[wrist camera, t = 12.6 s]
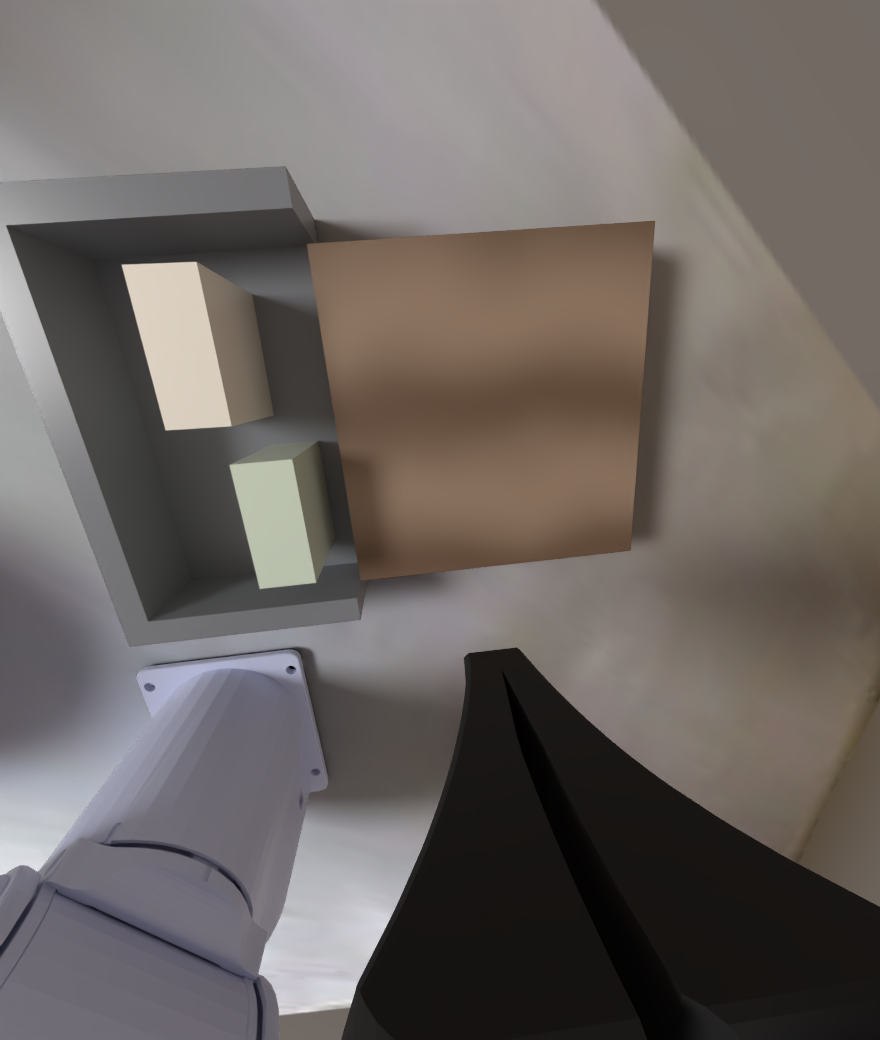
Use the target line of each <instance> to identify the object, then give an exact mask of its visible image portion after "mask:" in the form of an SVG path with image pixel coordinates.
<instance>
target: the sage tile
mask: <svg viewBox="0 0 880 1040" xmlns="http://www.w3.org/2000/svg"><path fill="white" fill-rule="evenodd" d="M229 466H230V470H231V474H232V478H233V482H234V486H235V490H236V494H237V498H238V502H239V506H240V510H241V514H242V519H243V523H244V527H245V531H246V535H247V539H248V543H249V547H250V551H251V555H252V559H253V563H254V567H255V571H256V576H257V580H258V584H259V588H260V589H264V588H273V587H282V586H292V585H301V584H310V583H316V582H317V580H318V578H319V575H320V573H321V571H322V568H323V566H324V564H325V561H326V559H327V557H328V554H329V552H330V550H331V547H332V545H333V543H334V540H335V533H334V527H333V521H332V515H331V509H330V503H329V498H328V492H327V486H326V480H325V474H324V468H323V463H322V457H321V451H320V445H319V441H309V442H298V443H287V444H276V445H270V446H268V447H266V448H264V449H262V450H260V451H257V452H255V453H253V454H251V455H249V456H247V457H245V458H243V459H241V460H239V461H237V462H234V463H232V464H230V465H229Z"/></svg>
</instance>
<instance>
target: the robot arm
mask: <svg viewBox="0 0 880 1040" xmlns="http://www.w3.org/2000/svg"><path fill="white" fill-rule="evenodd" d="M464 664H465V677H466V688H465V698H464V705H463V711H462V718H461V723H460V728H459V732H458V737H457V741H456V746H455V750H454V754H453V758H452V762H451V765H450V769H449V772H448V776H447V779H446V782H445V786H444V789H443V792H442V795H441V798H440V801H439V804H438V807H437V809H436V812H435V815H434V818H433V821H432V823H431V826H430V829H429V831H428V834H427V837H426V839H425V842H424V844H423V847H422V849H421V852H420V854H419V856H418V859H417V861H416V863H415V865H414V868H413V870H412V872H411V875H410V877H409V879H408V881H407V884H406V886H405V888H404V891H403V893H402V895H401V897H400V900H399V902H398V904H397V906H396V908H395V910H394V912H393V915H392V917H391V919H390V921H389V923H388V925H387V927H386V929H385V931H384V933H383V934H382V936H381V938H380V940H379V942H378V944H377V946H376V948H375V950H374V952H373V954H372V956H371V958H370V960H369V962H368V964H367V966H366V968H365V970H364V972H363V974H362V976H361V978H360V980H359V982H358V984H357V987H356V991H355V994H354V998H353V1001H352V1004H351V1008H350V1012H349V1015H348V1018H347V1022H346V1025H345V1028H344V1032H343V1036H342V1039H341V1040H880V907H879V906H877V905H875V904H873V903H871V902H869V901H867V900H866V899H864V898H862V897H860V896H858V895H856V894H854V893H852V892H850V891H848V890H847V889H845V888H843V887H841V886H839V885H837V884H835V883H833V882H831V881H829V880H828V879H826V878H824V877H822V876H820V875H818V874H816V873H814V872H812V871H810V870H808V869H806V868H805V867H803V866H801V865H799V864H797V863H795V862H793V861H791V860H790V859H788V858H786V857H784V856H782V855H781V854H779V853H777V852H775V851H774V850H772V849H770V848H769V847H767V846H765V845H763V844H762V843H760V842H758V841H757V840H755V839H753V838H752V837H750V836H748V835H746V834H745V833H743V832H741V831H740V830H738V829H736V828H735V827H733V826H731V825H730V824H728V823H726V822H725V821H723V820H722V819H720V818H718V817H717V816H715V815H714V814H712V813H711V812H709V811H708V810H706V809H705V808H703V807H702V806H700V805H699V804H697V803H695V802H694V801H692V800H691V799H689V798H688V797H686V796H685V795H683V794H682V793H680V792H679V791H677V790H676V789H674V788H673V787H671V786H670V785H668V784H667V783H666V782H664V781H663V780H661V779H660V778H659V777H657V776H656V775H654V774H653V773H652V772H650V771H649V770H648V769H646V768H645V767H644V766H642V765H641V764H640V763H638V762H637V761H636V760H635V759H633V758H632V757H631V756H629V755H628V754H627V753H626V752H624V751H623V750H622V749H621V748H619V747H618V746H617V745H616V744H615V743H613V742H612V741H611V740H610V739H609V738H607V737H606V736H605V735H604V734H603V733H602V732H601V731H600V730H598V729H597V728H596V727H595V726H594V725H593V724H592V723H590V722H589V721H588V720H587V719H586V718H585V717H584V716H583V715H582V714H581V713H580V712H578V711H577V710H576V709H575V708H574V707H573V706H572V705H571V704H570V703H569V702H568V701H567V700H566V699H565V698H564V697H563V696H562V695H561V694H560V693H559V692H558V691H557V690H556V689H555V688H554V687H553V686H552V685H551V684H550V683H549V682H548V681H547V680H546V678H545V677H544V676H543V675H542V674H541V673H540V672H539V671H538V670H537V669H536V668H535V666H534V665H533V664H532V663H531V662H530V661H529V660H528V659H527V657H526V656H525V655H524V654H523V653H522V652H521V651H520V650H519V649H518V648H509V649H501V650H492V651H484V652H476V653H468V654H467V655H466V656H465V657H464ZM288 666H294V667H295V668H296V669H290V668H289V667H288ZM136 678H137V682H138V684H139V687H140V689H141V692H142V695H143V697H144V700H145V702H146V705H147V707H148V710H149V712H150V715H151V718H152V720H151V721H150V723H149V724H148V725H147V727H146V728H145V729H144V731H143V732H142V733H141V735H140V736H139V737H138V739H137V740H136V741H135V743H134V744H133V745H132V747H131V748H130V749H129V751H128V752H127V753H126V755H125V756H124V757H123V759H122V760H121V762H120V763H119V764H118V766H117V767H116V768H115V770H114V771H113V772H112V774H111V775H110V776H109V778H108V779H107V780H106V782H105V783H104V784H103V786H102V787H101V788H100V790H99V791H98V792H97V794H96V795H95V796H94V798H93V799H92V801H91V802H90V803H89V805H88V806H87V807H86V809H85V810H84V811H83V813H82V814H81V815H80V817H79V818H78V819H77V821H76V822H75V823H74V825H73V826H72V827H71V829H70V830H69V831H68V833H67V834H66V835H65V837H64V838H63V840H62V841H61V842H60V844H59V845H58V846H57V848H56V849H55V850H54V852H53V853H52V854H51V856H50V857H49V858H48V860H47V861H46V862H45V864H44V865H43V866H42V868H41V869H40V870H39V871H38V872H37V871H35V870H34V869H32V868H30V867H29V866H24V865H20V866H18V867H15V868H14V869H12V870H10V871H9V872H8V873H6V874H4V875H0V1040H279V1009H278V1003H277V998H276V994H275V992H274V990H273V987H272V985H271V984H270V982H269V981H268V980H267V979H266V978H265V977H264V976H261V975H259V974H258V972H259V968H260V964H261V960H262V956H263V952H264V948H265V944H266V942H267V941H268V939H269V938H270V936H271V934H272V932H273V931H274V929H275V927H276V925H277V923H278V921H279V918H280V916H281V913H282V910H283V907H284V904H285V900H286V896H287V891H288V887H289V882H290V878H291V873H292V869H293V865H294V860H295V856H296V851H297V847H298V842H299V838H300V834H301V829H302V825H303V820H304V816H305V811H306V807H307V803H308V798H309V794H310V792H316V791H322V790H324V789H325V788H326V787H327V786H328V774H327V770H326V765H325V761H324V757H323V752H322V748H321V743H320V739H319V735H318V730H317V726H316V721H315V717H314V713H313V708H312V704H311V699H310V695H309V691H308V686H307V682H306V677H305V673H304V668H303V664H302V660H301V656H300V654H299V653H298V652H297V651H295V650H290V649H288V650H280V651H272V652H263V653H255V654H247V655H238V656H230V657H222V658H213V659H205V660H197V661H188V662H180V663H172V664H163V665H155V666H147V667H144V668H143V669H141V670H140V672H139V673H138V674H137V676H136ZM149 683H151V684H153V685H154V686H152V685H150V684H149Z"/></svg>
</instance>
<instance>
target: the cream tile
mask: <svg viewBox="0 0 880 1040" xmlns="http://www.w3.org/2000/svg"><path fill="white" fill-rule="evenodd" d="M122 268H123V272H124V276H125V280H126V283H127V287H128V291H129V295H130V298H131V302H132V306H133V310H134V313H135V317H136V321H137V325H138V328H139V332H140V336H141V340H142V344H143V347H144V351H145V355H146V359H147V362H148V366H149V370H150V374H151V377H152V381H153V385H154V389H155V393H156V396H157V400H158V404H159V408H160V411H161V415H162V419H163V423H164V426H165V430H181V429H197V428H213V427H228V426H235V425H239V424H242V423H246V422H250V421H254V420H258V419H262V418H266V417H270V416H273V415H274V413H273V407H272V402H271V396H270V391H269V385H268V379H267V374H266V368H265V363H264V357H263V352H262V346H261V340H260V335H259V329H258V324H257V318H256V313H255V307H254V302H253V296H252V294H251V293H249V292H247V291H246V290H244V289H242V288H240V287H239V286H237V285H235V284H234V283H232V282H230V281H228V280H227V279H225V278H223V277H222V276H220V275H218V274H216V273H215V272H213V271H211V270H210V269H208V268H206V267H204V266H203V265H201V264H199V263H198V262H180V263H154V264H128V265H122Z"/></svg>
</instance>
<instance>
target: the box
mask: <svg viewBox="0 0 880 1040" xmlns="http://www.w3.org/2000/svg"><path fill="white" fill-rule="evenodd" d="M311 243H318V242H317V236H316V229H315V222H314V218H313V216H312V214H311V212H310V211H309V209H308V207H307V205H306V203H305V201H304V200H303V198H302V196H301V194H300V192H299V190H298V188H297V187H296V185H295V183H294V181H293V179H292V177H291V176H290V174H289V172H288V170H287V168H286V166H282V167H264V168H246V169H228V170H210V171H192V172H174V173H156V174H138V175H120V176H102V177H84V178H66V179H48V180H30V181H12V182H0V311H1V313H2V316H3V318H4V321H5V324H6V326H7V329H8V331H9V334H10V337H11V339H12V342H13V344H14V347H15V350H16V352H17V355H18V357H19V360H20V363H21V365H22V368H23V370H24V373H25V376H26V378H27V381H28V383H29V386H30V389H31V391H32V394H33V396H34V399H35V402H36V404H37V407H38V409H39V412H40V415H41V417H42V420H43V422H44V425H45V428H46V430H47V433H48V435H49V438H50V441H51V443H52V446H53V448H54V451H55V454H56V456H57V459H58V461H59V464H60V467H61V469H62V472H63V475H64V477H65V480H66V482H67V485H68V488H69V490H70V493H71V495H72V498H73V501H74V503H75V506H76V508H77V511H78V514H79V516H80V519H81V521H82V524H83V527H84V529H85V532H86V534H87V537H88V540H89V542H90V545H91V547H92V550H93V553H94V555H95V558H96V560H97V563H98V566H99V568H100V571H101V573H102V576H103V579H104V581H105V584H106V586H107V589H108V592H109V594H110V597H111V599H112V602H113V605H114V607H115V610H116V612H117V615H118V618H119V620H120V623H121V625H122V628H123V631H124V633H125V636H126V638H127V641H128V644H129V646H130V647H133V646H142V645H150V644H159V643H167V642H176V641H184V640H193V639H202V638H210V637H219V636H227V635H236V634H244V633H253V632H261V631H270V630H278V629H287V628H296V627H304V626H313V625H321V624H330V623H338V622H347V621H355V620H361V614H362V609H363V603H364V597H365V592H366V586H367V580H363V581H361V580H360V574H359V568H358V562H357V555H356V549H355V543H354V537H353V530H352V524H351V518H350V512H349V505H348V499H347V493H346V487H345V480H344V474H343V468H342V461H341V455H340V449H339V443H338V436H337V430H336V424H335V418H334V411H333V405H332V399H331V393H330V386H329V380H328V374H327V368H326V361H325V355H324V349H323V343H322V336H321V330H320V324H319V317H318V311H317V305H316V299H315V292H314V286H313V280H312V274H311V267H310V261H309V255H308V249H307V244H311ZM180 262H198V263H199V264H201V265H203V266H204V267H206V268H208V269H210V270H211V271H213V272H215V273H216V274H218V275H220V276H222V277H223V278H225V279H227V280H228V281H230V282H232V283H234V284H235V285H237V286H239V287H240V288H242V289H244V290H246V291H247V292H249V293H251V294H252V296H253V302H254V307H255V313H256V318H257V324H258V329H259V335H260V340H261V346H262V352H263V357H264V363H265V368H266V374H267V379H268V385H269V391H270V396H271V402H272V407H273V413H274V415H273V416H270V417H266V418H262V419H258V420H254V421H250V422H246V423H242V424H239V425H235V426H228V427H213V428H197V429H181V430H165V426H164V423H163V419H162V415H161V411H160V408H159V404H158V400H157V396H156V393H155V389H154V385H153V381H152V377H151V374H150V370H149V366H148V362H147V359H146V355H145V351H144V347H143V344H142V340H141V336H140V332H139V328H138V325H137V321H136V317H135V313H134V310H133V306H132V302H131V298H130V295H129V291H128V287H127V283H126V280H125V276H124V272H123V268H122V265H128V264H154V263H180ZM309 441H319V445H320V451H321V457H322V463H323V468H324V474H325V480H326V486H327V492H328V498H329V503H330V509H331V515H332V521H333V527H334V533H335V540H334V543H333V545H332V547H331V550H330V552H329V554H328V557H327V559H326V561H325V564H324V566H323V568H322V571H321V573H320V575H319V578H318V580H317V582H316V583H310V584H301V585H292V586H282V587H273V588H264V589H260V588H259V584H258V580H257V576H256V571H255V567H254V563H253V559H252V555H251V551H250V547H249V543H248V539H247V535H246V531H245V527H244V523H243V519H242V514H241V510H240V506H239V502H238V498H237V494H236V490H235V486H234V482H233V478H232V474H231V470H230V466H229V465H230V464H232V463H234V462H237V461H239V460H241V459H243V458H245V457H247V456H249V455H251V454H253V453H255V452H257V451H260V450H262V449H264V448H266V447H268V446H270V445H276V444H287V443H298V442H309Z"/></svg>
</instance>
